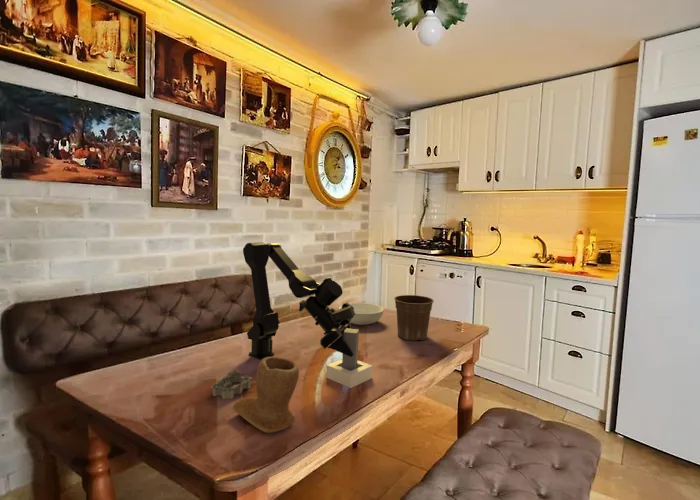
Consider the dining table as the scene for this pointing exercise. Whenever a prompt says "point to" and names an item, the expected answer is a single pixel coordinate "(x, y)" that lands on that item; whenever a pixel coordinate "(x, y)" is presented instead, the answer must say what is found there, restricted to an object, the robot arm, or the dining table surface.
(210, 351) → the dining table surface
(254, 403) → the tan boot
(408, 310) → the plant pot
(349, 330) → the post
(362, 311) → the serving bowl
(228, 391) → the egg carton
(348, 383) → the collar
